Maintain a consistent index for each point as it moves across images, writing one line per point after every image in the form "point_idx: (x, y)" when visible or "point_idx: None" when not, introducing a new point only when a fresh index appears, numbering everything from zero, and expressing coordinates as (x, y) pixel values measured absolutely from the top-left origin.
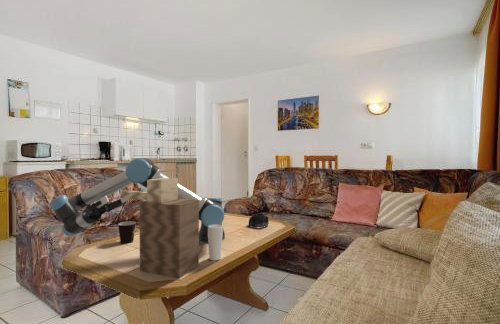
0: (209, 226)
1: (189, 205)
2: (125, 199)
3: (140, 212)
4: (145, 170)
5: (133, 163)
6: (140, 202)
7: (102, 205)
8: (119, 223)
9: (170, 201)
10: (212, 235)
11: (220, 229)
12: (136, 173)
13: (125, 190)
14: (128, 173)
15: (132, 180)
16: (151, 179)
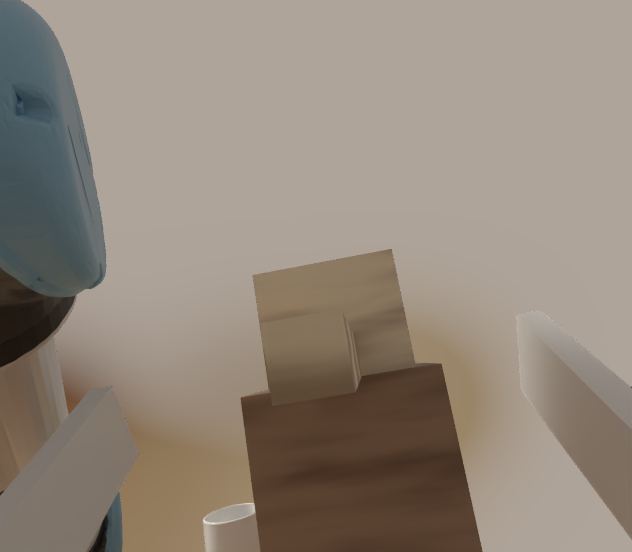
0: (224, 526)
1: None
2: (74, 533)
3: (453, 426)
4: (94, 187)
5: (62, 53)
6: (440, 365)
7: (600, 484)
8: None
9: None
10: None
11: (249, 511)
12: (84, 177)
13: (266, 322)
14: (65, 129)
15: (86, 239)
16: (365, 255)
